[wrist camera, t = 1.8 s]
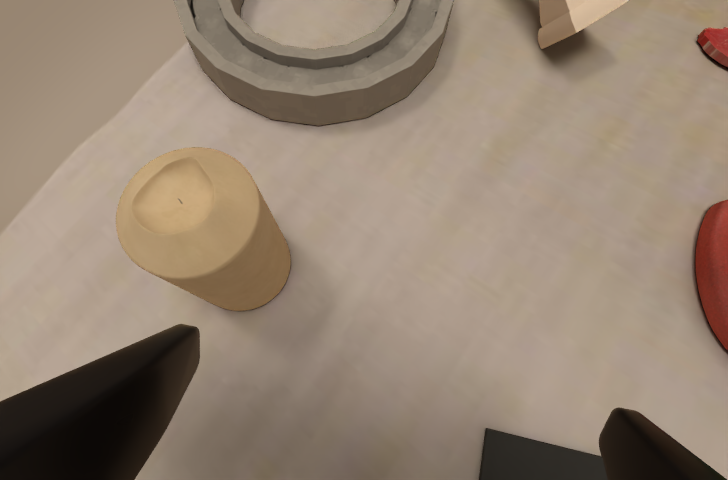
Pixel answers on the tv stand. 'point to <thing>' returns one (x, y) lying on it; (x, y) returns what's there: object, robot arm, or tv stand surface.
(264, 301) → the candle
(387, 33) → the mechanical component
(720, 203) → the stacking bear
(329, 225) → the tv stand surface
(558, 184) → the tv stand surface
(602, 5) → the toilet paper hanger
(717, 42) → the steak
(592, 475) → the mat
